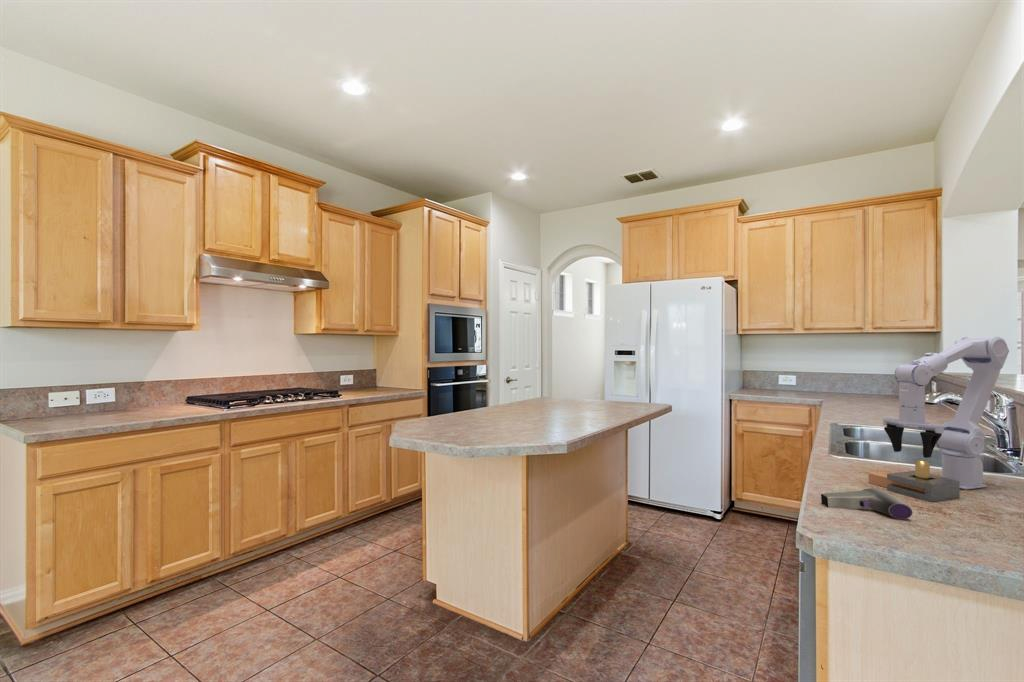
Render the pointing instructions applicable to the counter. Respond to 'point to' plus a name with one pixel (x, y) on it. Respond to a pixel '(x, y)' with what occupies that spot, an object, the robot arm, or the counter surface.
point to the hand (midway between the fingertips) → (912, 454)
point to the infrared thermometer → (868, 502)
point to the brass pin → (922, 469)
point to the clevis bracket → (925, 486)
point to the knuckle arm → (888, 481)
